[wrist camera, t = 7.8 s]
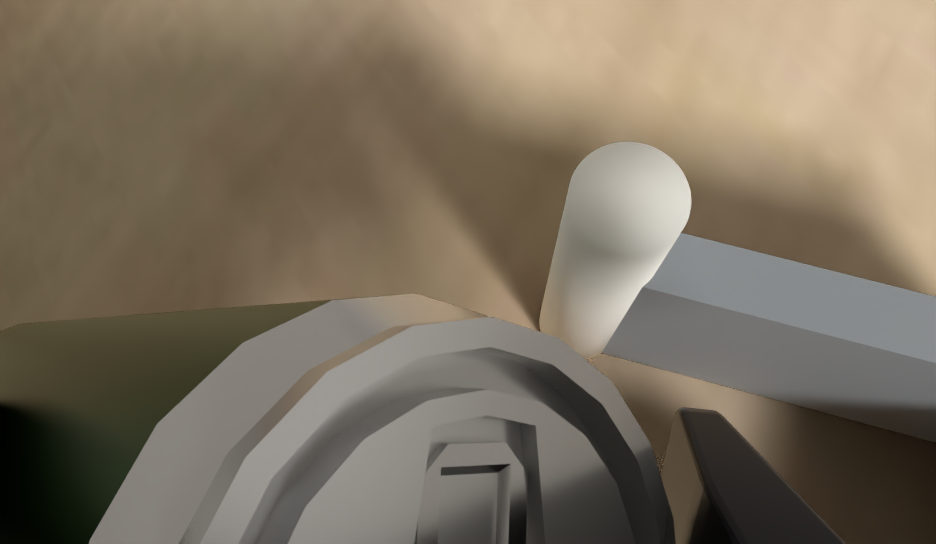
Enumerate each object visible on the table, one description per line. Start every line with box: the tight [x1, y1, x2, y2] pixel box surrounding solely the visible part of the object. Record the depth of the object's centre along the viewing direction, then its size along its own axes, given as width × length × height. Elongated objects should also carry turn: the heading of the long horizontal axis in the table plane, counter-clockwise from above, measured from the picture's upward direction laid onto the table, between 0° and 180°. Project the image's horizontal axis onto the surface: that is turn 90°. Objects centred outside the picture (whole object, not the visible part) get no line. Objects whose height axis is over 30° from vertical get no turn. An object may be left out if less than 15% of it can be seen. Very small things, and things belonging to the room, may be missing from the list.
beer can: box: [0, 293, 676, 544], centre depth 11 cm, size 5×5×12 cm
